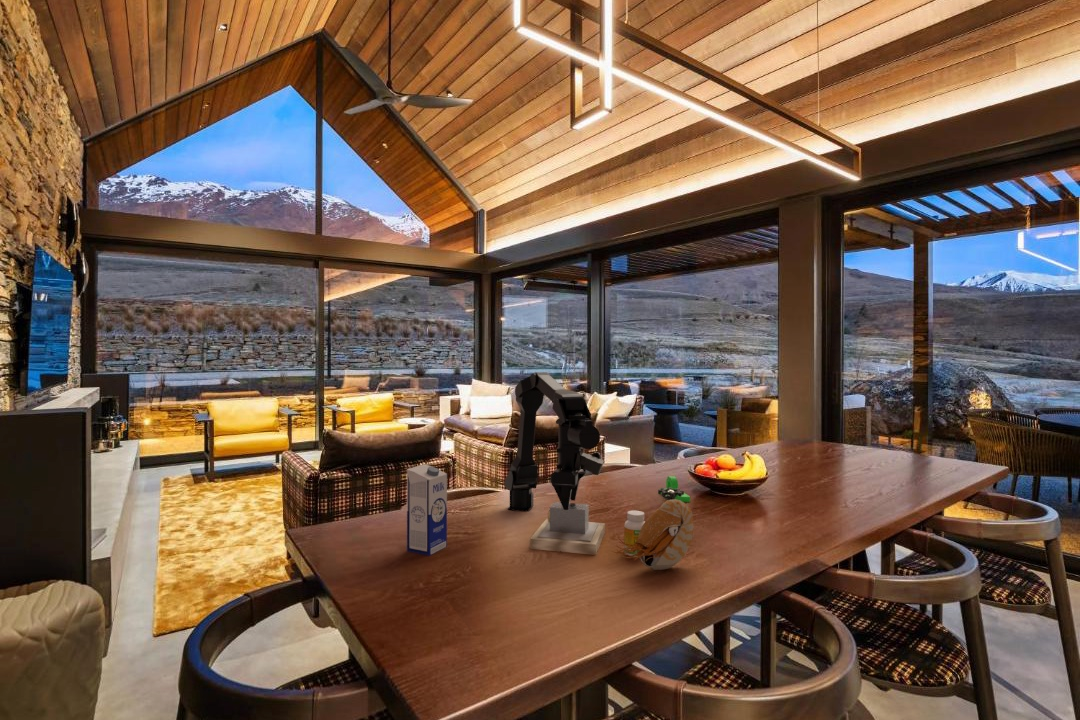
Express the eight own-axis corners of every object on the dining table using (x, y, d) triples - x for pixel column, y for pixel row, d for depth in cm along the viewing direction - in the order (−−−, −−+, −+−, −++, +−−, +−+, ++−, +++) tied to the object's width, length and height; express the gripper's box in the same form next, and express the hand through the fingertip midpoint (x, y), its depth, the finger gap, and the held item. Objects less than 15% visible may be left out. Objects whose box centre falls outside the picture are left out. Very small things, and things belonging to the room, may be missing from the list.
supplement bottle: (633, 559, 125) (633, 517, 125) (619, 551, 130) (619, 511, 130) (651, 555, 128) (652, 514, 128) (637, 548, 132) (637, 508, 132)
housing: (585, 534, 134) (585, 510, 134) (546, 531, 136) (546, 507, 136) (588, 527, 139) (588, 504, 139) (551, 524, 142) (551, 501, 142)
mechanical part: (690, 502, 175) (690, 478, 175) (672, 503, 174) (672, 478, 174) (676, 493, 187) (676, 470, 187) (659, 494, 186) (659, 470, 186)
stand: (530, 549, 131) (530, 537, 131) (546, 527, 148) (546, 517, 148) (595, 555, 128) (595, 543, 128) (604, 532, 144) (604, 522, 144)
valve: (689, 537, 141) (689, 490, 141) (672, 542, 137) (672, 494, 137) (669, 530, 146) (669, 486, 146) (652, 535, 142) (652, 489, 142)
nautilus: (604, 574, 116) (605, 504, 116) (679, 557, 127) (679, 492, 127) (628, 588, 109) (628, 514, 109) (705, 568, 120) (705, 500, 120)
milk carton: (425, 543, 136) (425, 463, 135) (447, 547, 133) (447, 465, 133) (406, 552, 129) (406, 468, 129) (429, 556, 126) (429, 471, 126)
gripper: (596, 450, 127) (596, 517, 127) (606, 439, 145) (605, 497, 145) (549, 448, 129) (549, 514, 129) (565, 437, 147) (565, 495, 147)
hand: (569, 504), depth 138 cm, fingers open, 9 cm apart
